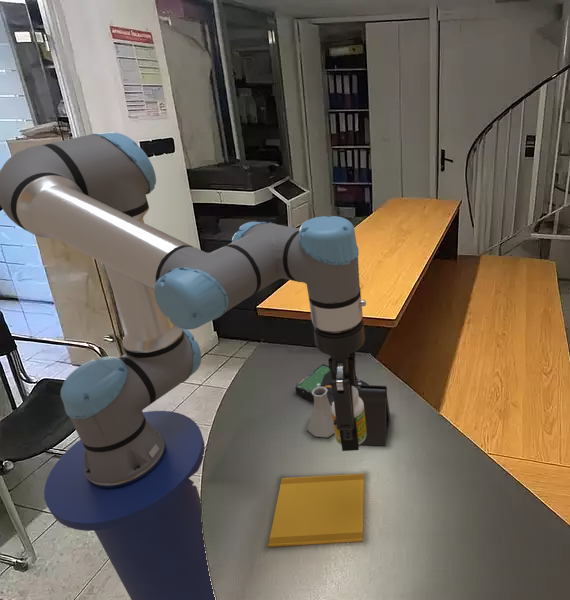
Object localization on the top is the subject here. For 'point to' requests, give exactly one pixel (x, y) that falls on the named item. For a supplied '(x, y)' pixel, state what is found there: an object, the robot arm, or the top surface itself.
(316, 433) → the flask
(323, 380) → the disk drive
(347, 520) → the yellow tray
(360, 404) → the supplement bottle
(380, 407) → the phone stand
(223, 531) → the top surface
